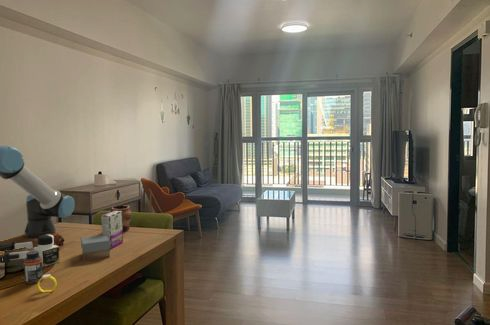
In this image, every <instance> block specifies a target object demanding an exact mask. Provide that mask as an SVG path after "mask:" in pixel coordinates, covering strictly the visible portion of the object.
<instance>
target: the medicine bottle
mask: <svg viewBox="0 0 490 325" xmlns="http://www.w3.org/2000/svg"><path fill="white" fill-rule="evenodd" d="M53 244H54V236H53V235H42V236H40V237H37V246H36V247H33V251H39V256H41V257H42V268H44V267H48V266H50V265H53V264H56V263H60V250H59V249H60V247H59V246H56V245H53Z"/></svg>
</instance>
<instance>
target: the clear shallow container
mask: <svg viewBox="0 0 490 325" xmlns="http://www.w3.org/2000/svg"><path fill="white" fill-rule="evenodd" d="M110 250H111V249H108V250H101V251H94V252H87V253H83V251H81V252H82V261H83V262H85V261H93V260H98V259H99V260H100V259H105V258H110V257H111V255H110V254H111V253H110ZM92 259H93V260H92Z"/></svg>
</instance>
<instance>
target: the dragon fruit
mask: <svg viewBox="0 0 490 325" xmlns="http://www.w3.org/2000/svg"><path fill="white" fill-rule="evenodd" d="M47 235H53V236H54V244H53V245H56V246H59V248H60V247H63V246H65V243H64V242H65V238H64V237H63V236H62V235H60V234H59V233H57V232H56V233H54V234H47Z"/></svg>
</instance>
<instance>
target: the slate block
mask: <svg viewBox="0 0 490 325" xmlns="http://www.w3.org/2000/svg"><path fill="white" fill-rule="evenodd" d="M80 247H81V250H82V251H83V253H87V252H94V251H101V250H108V249H110V244H109V239H108V237H107V235H102V234H100V235H92V236H84V237H80ZM110 250H111V249H110ZM82 251H81V252H82Z"/></svg>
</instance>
